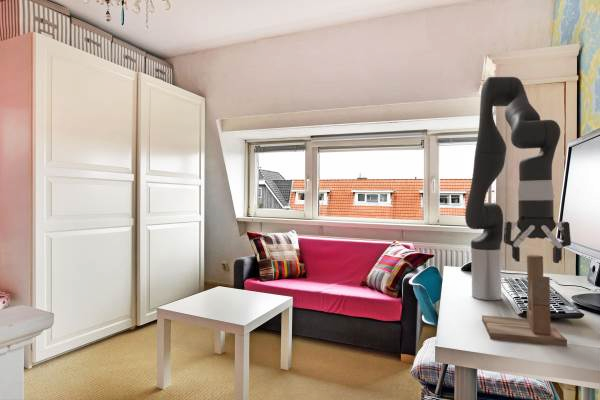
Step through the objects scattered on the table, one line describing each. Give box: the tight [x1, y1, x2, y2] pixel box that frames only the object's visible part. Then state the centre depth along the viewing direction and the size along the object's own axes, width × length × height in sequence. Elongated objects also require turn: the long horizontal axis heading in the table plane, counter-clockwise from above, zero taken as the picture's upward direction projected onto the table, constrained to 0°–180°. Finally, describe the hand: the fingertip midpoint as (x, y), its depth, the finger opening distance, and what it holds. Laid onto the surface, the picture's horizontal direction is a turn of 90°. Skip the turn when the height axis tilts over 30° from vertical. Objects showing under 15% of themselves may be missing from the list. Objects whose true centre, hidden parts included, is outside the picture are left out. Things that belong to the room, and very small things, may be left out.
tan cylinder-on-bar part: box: [526, 254, 551, 335], centre depth 91 cm, size 4×11×18 cm, turn 155°
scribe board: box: [481, 314, 568, 347], centre depth 93 cm, size 14×16×2 cm
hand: (536, 261), depth 91 cm, fingers open, 8 cm apart
